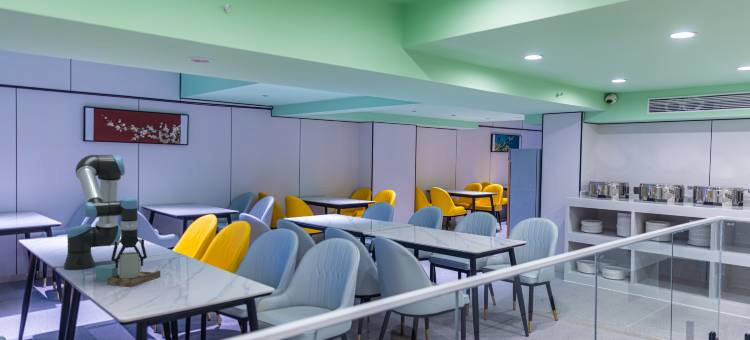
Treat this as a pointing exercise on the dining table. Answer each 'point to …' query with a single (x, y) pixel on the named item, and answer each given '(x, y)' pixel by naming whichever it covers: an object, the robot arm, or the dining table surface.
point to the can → (129, 265)
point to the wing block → (105, 272)
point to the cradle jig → (133, 279)
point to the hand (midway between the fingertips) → (129, 273)
